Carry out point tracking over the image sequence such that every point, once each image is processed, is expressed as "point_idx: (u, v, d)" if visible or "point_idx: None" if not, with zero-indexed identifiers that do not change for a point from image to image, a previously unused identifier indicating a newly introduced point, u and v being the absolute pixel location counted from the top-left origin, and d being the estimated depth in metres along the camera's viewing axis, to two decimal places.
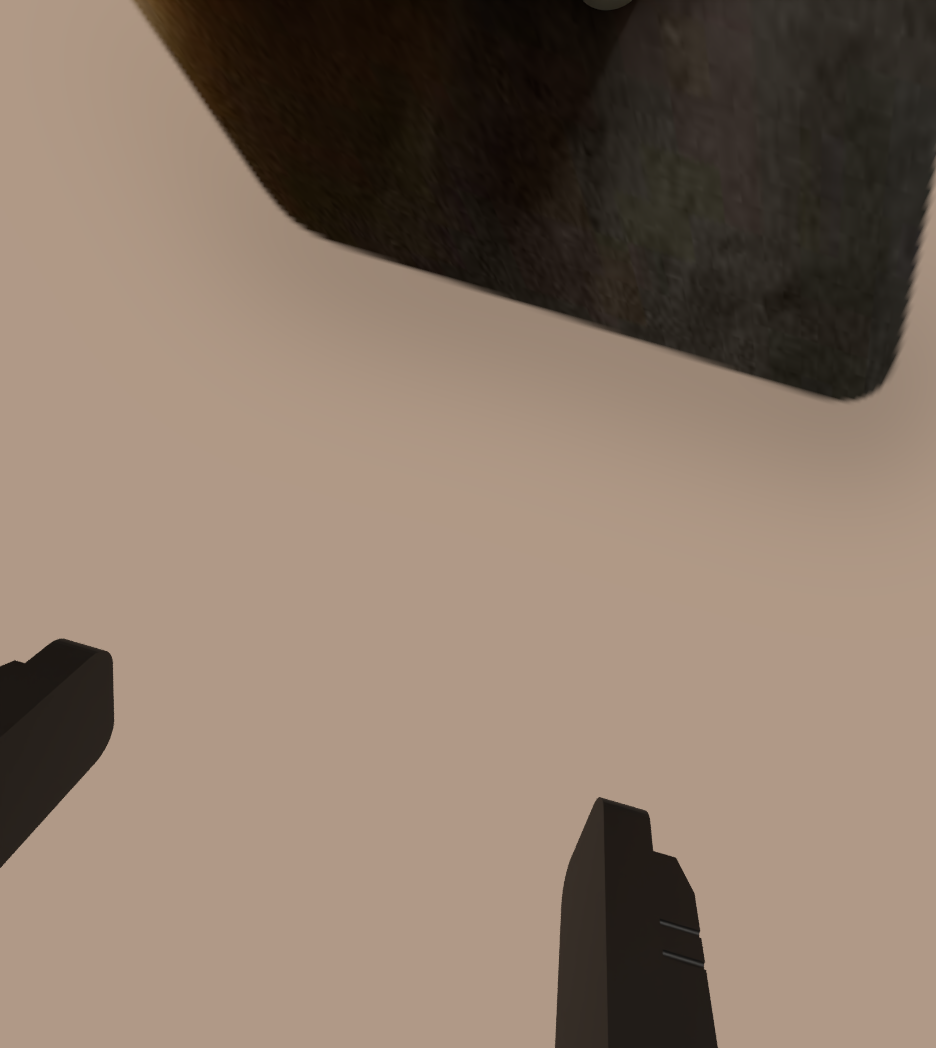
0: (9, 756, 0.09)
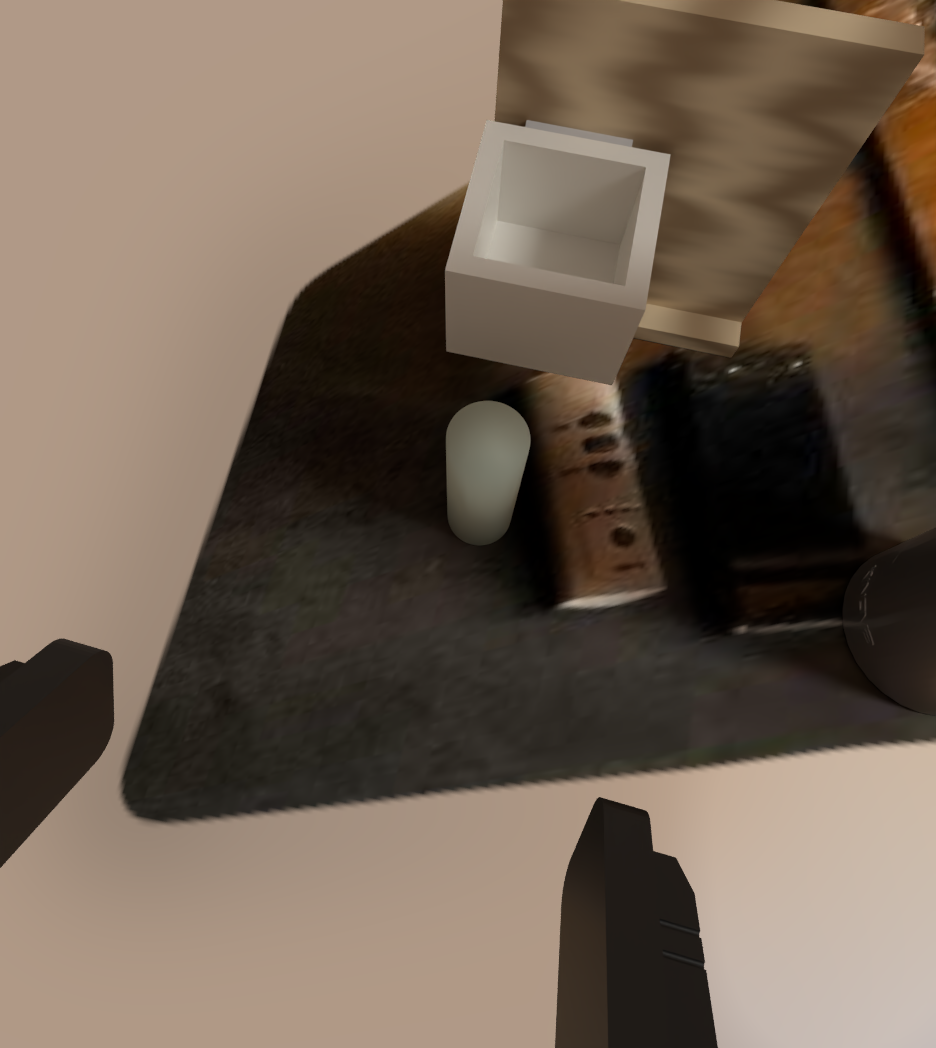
0: (9, 756, 0.09)
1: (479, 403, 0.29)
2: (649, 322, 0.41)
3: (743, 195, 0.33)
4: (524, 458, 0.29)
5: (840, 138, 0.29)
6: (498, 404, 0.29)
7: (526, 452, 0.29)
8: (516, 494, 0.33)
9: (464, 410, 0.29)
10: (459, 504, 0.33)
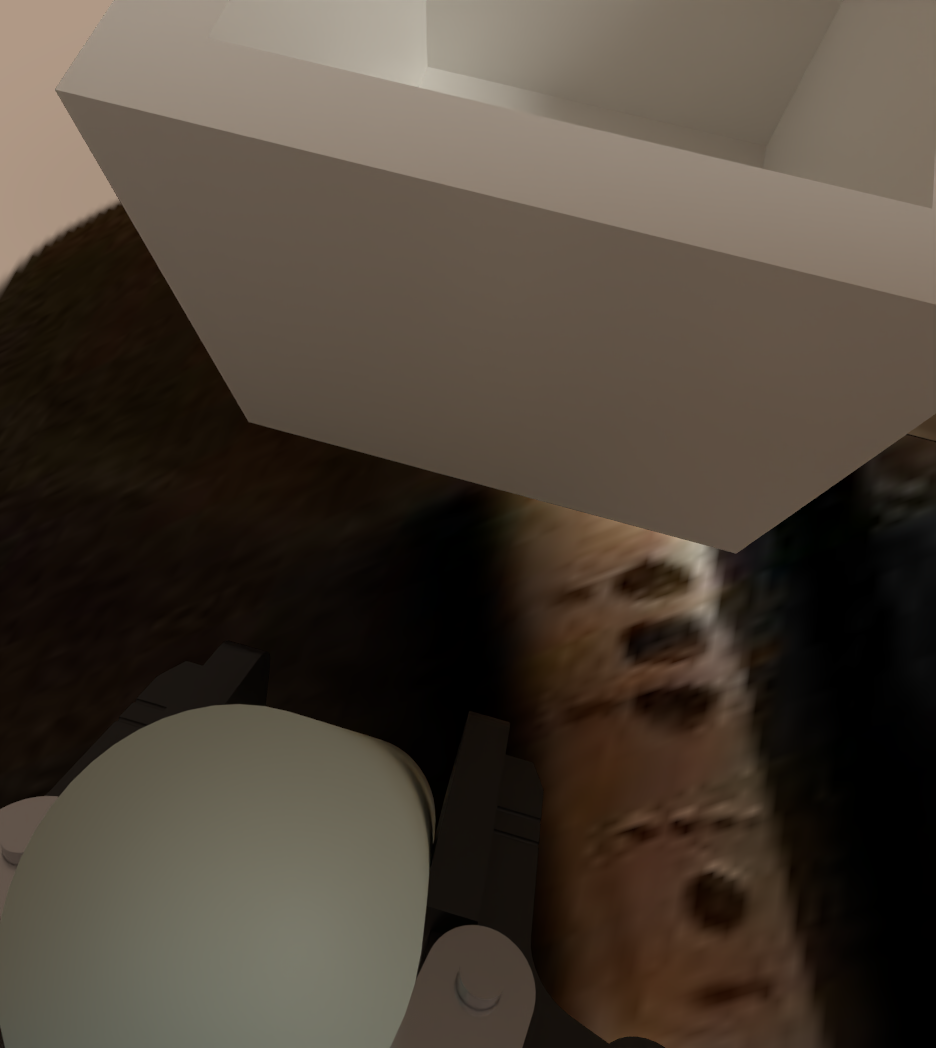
0: None
1: (212, 707, 0.07)
2: None
3: None
4: None
5: None
6: (294, 727, 0.06)
7: (394, 1016, 0.06)
8: None
9: (129, 751, 0.06)
10: None
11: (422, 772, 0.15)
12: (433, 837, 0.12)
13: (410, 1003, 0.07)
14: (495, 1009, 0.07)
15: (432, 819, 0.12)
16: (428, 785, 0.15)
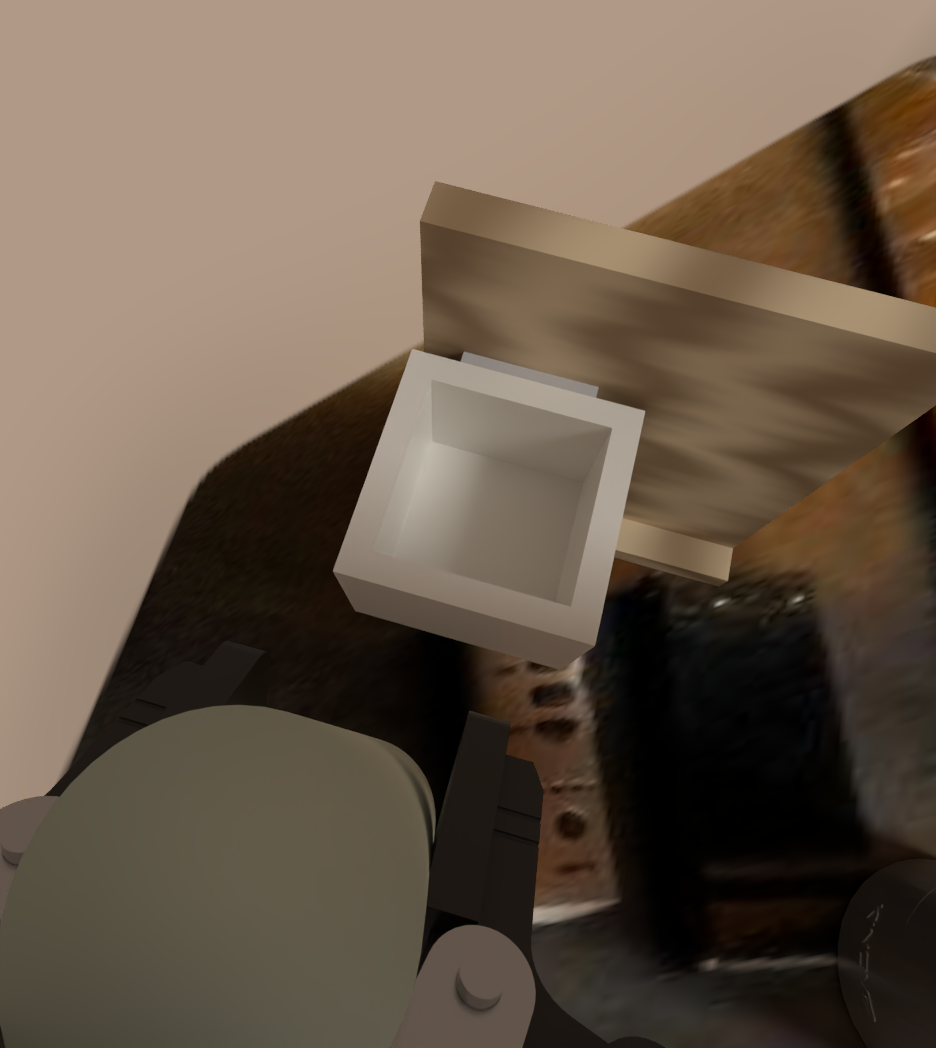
0: None
1: (212, 708, 0.07)
2: (621, 542, 0.34)
3: (738, 452, 0.26)
4: None
5: (865, 424, 0.22)
6: (293, 728, 0.06)
7: (394, 1016, 0.06)
8: None
9: (129, 752, 0.06)
10: None
11: (422, 772, 0.16)
12: (433, 837, 0.12)
13: (410, 1003, 0.07)
14: (495, 1009, 0.07)
15: (432, 819, 0.12)
16: (428, 785, 0.15)
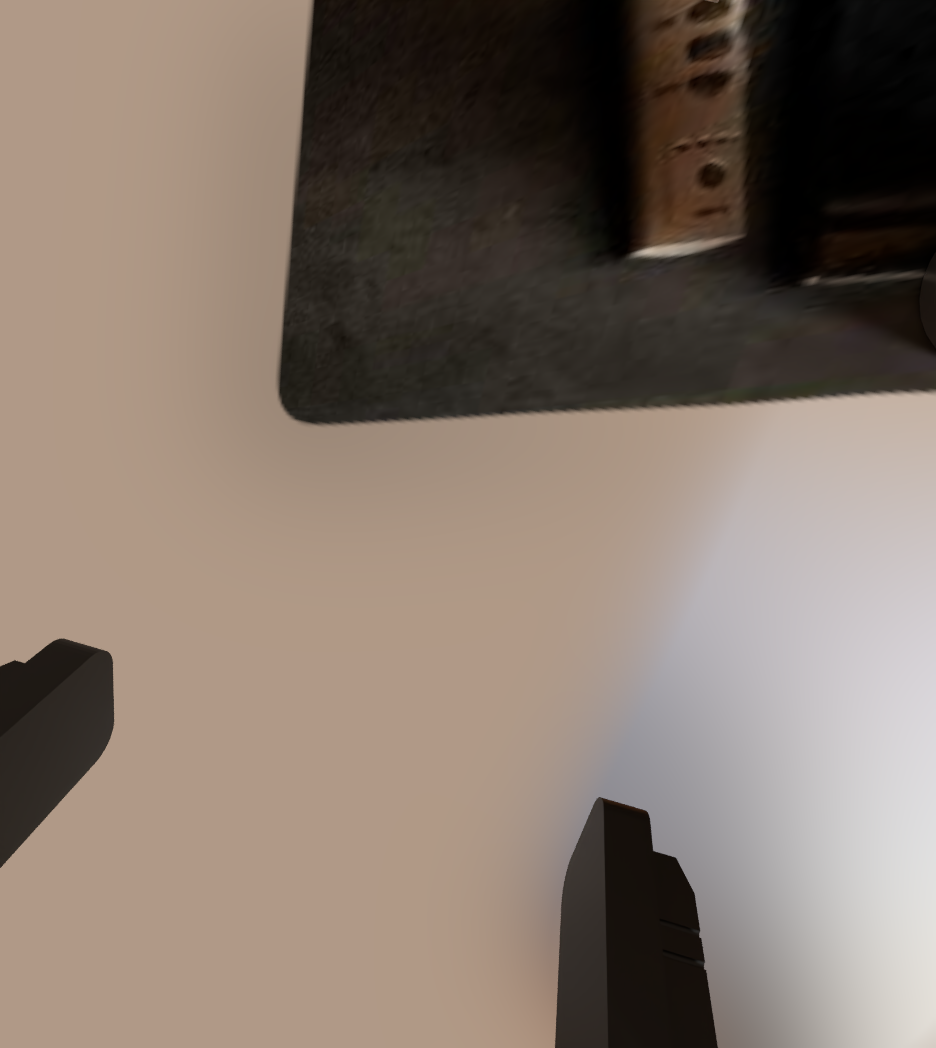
0: (9, 756, 0.09)
1: None
2: None
3: None
4: None
5: None
6: None
7: None
8: None
9: None
10: None
11: None
12: None
13: None
14: None
15: None
16: None
